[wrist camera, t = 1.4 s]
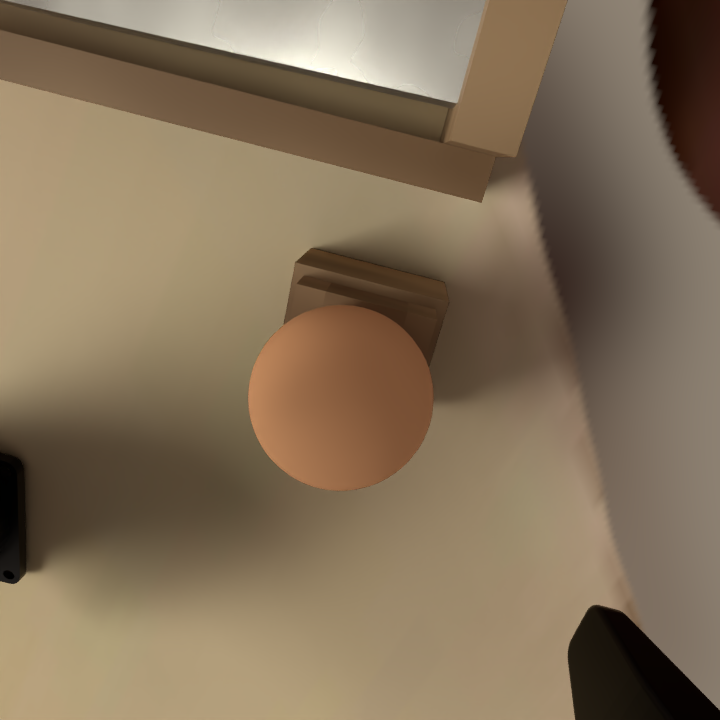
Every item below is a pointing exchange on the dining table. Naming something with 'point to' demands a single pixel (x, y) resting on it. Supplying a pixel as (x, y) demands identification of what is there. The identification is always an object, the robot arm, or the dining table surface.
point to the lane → (304, 95)
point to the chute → (308, 36)
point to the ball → (340, 397)
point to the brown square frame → (370, 294)
